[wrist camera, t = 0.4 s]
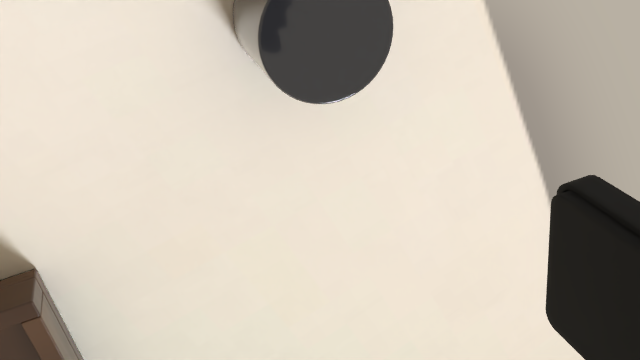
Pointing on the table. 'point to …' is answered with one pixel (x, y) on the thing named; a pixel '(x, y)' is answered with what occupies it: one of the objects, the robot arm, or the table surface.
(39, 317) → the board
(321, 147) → the table surface
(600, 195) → the robot arm
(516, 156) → the table surface
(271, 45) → the dark grey cylinder
